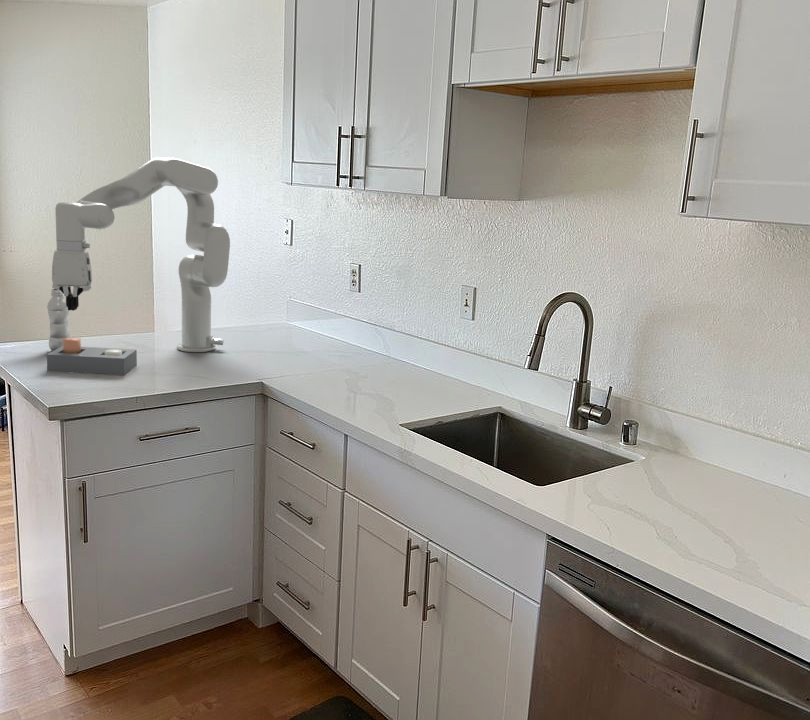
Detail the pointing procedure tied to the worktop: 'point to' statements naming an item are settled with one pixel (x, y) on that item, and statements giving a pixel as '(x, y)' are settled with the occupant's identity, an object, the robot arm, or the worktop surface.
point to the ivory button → (113, 352)
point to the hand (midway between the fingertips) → (72, 309)
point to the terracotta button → (72, 345)
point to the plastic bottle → (57, 319)
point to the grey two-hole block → (92, 361)
